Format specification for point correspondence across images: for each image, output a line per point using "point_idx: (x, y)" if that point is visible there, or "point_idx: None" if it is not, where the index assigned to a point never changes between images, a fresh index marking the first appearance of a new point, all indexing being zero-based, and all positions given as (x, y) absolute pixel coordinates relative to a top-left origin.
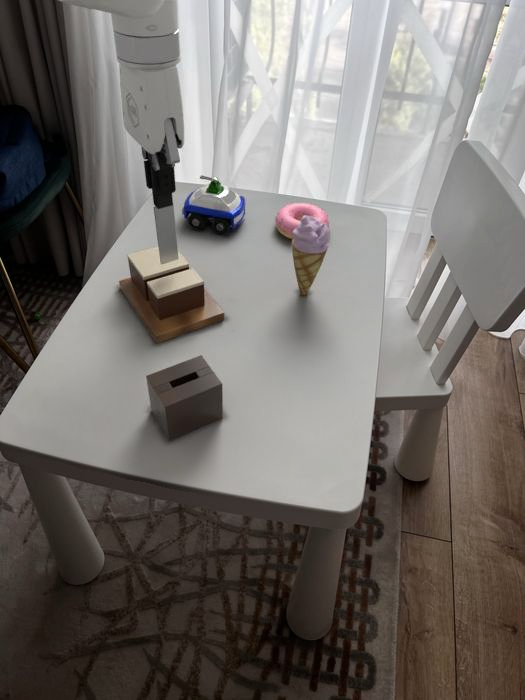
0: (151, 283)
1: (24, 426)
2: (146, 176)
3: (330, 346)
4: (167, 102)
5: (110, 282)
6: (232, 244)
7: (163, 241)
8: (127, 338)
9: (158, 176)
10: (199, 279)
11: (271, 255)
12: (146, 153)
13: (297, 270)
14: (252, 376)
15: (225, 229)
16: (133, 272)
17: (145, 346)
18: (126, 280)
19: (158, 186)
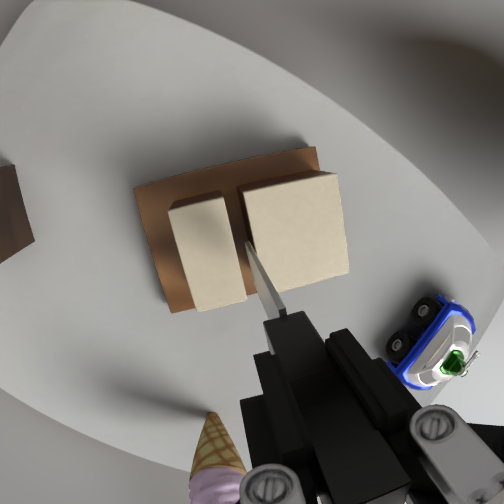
0: (215, 206)
1: (44, 9)
2: (356, 363)
3: (101, 409)
4: None
5: (330, 133)
6: None
7: (256, 274)
8: (162, 137)
9: (272, 438)
10: (204, 305)
11: None
12: (420, 455)
13: (207, 440)
14: (52, 311)
15: (390, 350)
16: (301, 176)
17: (134, 166)
18: (312, 160)
19: (263, 397)
